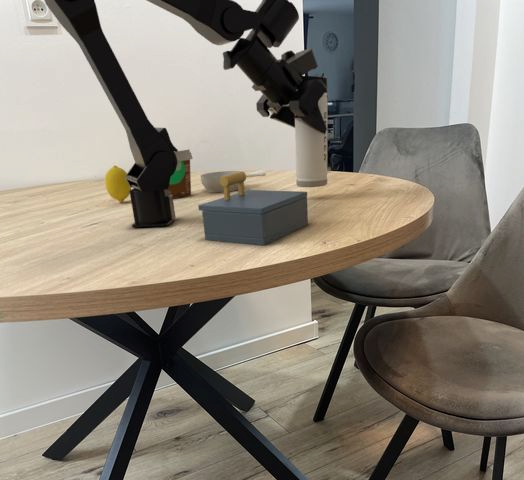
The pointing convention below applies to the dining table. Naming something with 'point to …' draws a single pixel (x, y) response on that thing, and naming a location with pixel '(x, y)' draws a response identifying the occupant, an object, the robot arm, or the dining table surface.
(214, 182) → the saucepan
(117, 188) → the lemon
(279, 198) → the lid
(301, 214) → the box
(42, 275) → the dining table surface
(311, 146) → the travel mug
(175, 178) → the food container
